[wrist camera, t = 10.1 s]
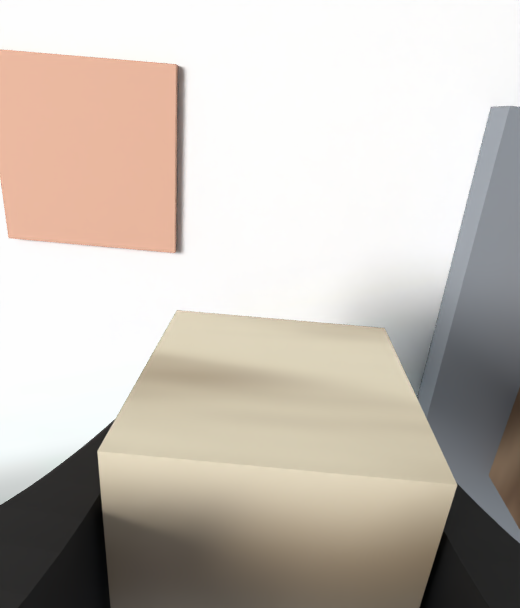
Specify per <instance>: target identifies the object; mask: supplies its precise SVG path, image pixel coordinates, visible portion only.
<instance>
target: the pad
mask: <svg viewBox="0 0 520 608" xmlns="http://www.w3.org/2000/svg"><path fill="white" fill-rule="evenodd" d="M177 78H178V65H176V64H167V63H155V62H143V61H131V60H119V59H107V58H95V57H83V56H71V55H59V54H47V53H35V52H24V51H12V50H0V179H1V186H2V194H3V201H4V208H5V215H6V223H7V230H8V237H9V238H14V239H25V240H36V241H47V242H59V243H70V244H81V245H92V246H103V247H114V248H126V249H137V250H148V251H159V252H170V253H175V252H176V212H177Z"/></svg>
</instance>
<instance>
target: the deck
mask: <svg viewBox="0 0 520 608" xmlns="http://www.w3.org/2000/svg"><path fill="white" fill-rule="evenodd" d="M519 388H520V107H516V106H499V107H491V109H490V113H489V117H488V121H487V125H486V129H485V133H484V137H483V140H482V144H481V148H480V152H479V156H478V160H477V164H476V168H475V172H474V176H473V180H472V184H471V188H470V192H469V196H468V200H467V204H466V208H465V212H464V216H463V220H462V224H461V228H460V232H459V236H458V240H457V243H456V247H455V251H454V255H453V259H452V263H451V267H450V271H449V275H448V279H447V283H446V287H445V291H444V295H443V299H442V303H441V307H440V311H439V315H438V319H437V323H436V327H435V331H434V335H433V339H432V343H431V346H430V350H429V354H428V358H427V362H426V366H425V370H424V374H423V378H422V382H421V386H420V390H419V394H418V398H417V399H418V401H419V403H420V406H421V408H422V410H423V412H424V414H425V416H426V419H427V421H428V423H429V425H430V427H431V429H432V431H433V434H434V436H435V438H436V440H437V442H438V444H439V446H440V449H441V451H442V453H443V455H444V457H445V459H446V462H447V464H448V466H449V468H450V470H451V472H452V474H453V477H454V479H455V481H456V482H457V483H458V484H459V486H460V487H461V488H462V489H463V490H464V491H465V492H466V493H467V494H468V495H469V496H470V497H471V498H472V499H473V500H474V501H475V502H476V503H477V504H478V505H479V506H480V507H481V508H482V509H483V510H484V511H485V512H486V513H487V514H488V515H489V516H491V517H492V518H493V519H494V520H495V521H496V522H497V523H498V524H499V525H500V526H501V527H502V528H503V529H504V530H505V531H506V532H508V533H509V534H510V535H511V536H512V537H513V538H514V539H515V540H517V541H518V542H519V543H520V529H519V528H518V526H517V524H516V522H515V521H514V519H513V517H512V515H511V514H510V512H509V510H508V508H507V507H506V505H505V503H504V501H503V500H502V498H501V496H500V494H499V493H498V491H497V489H496V487H495V486H494V484H493V482H492V480H491V479H490V477H489V473H490V470H491V467H492V464H493V462H494V459H495V456H496V453H497V450H498V447H499V444H500V442H501V439H502V436H503V433H504V430H505V427H506V425H507V422H508V419H509V416H510V413H511V410H512V408H513V405H514V402H515V399H516V396H517V393H518V390H519Z"/></svg>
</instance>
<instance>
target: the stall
mask: <svg viewBox="0 0 520 608" xmlns="http://www.w3.org/2000/svg"><path fill="white" fill-rule="evenodd" d="M489 477H490V479H491V480H492V482H493V484H494V486H495V487H496V489H497V491H498V493H499V494H500V496H501V498H502V500H503V501H504V503H505V505H506V507H507V508H508V510H509V512H510V514H511V515H512V517H513V519H514V521H515V522H516V524H517V526H518V528H519V529H520V388H519V390H518V393H517V396H516V399H515V402H514V405H513V408H512V410H511V413H510V416H509V419H508V422H507V425H506V427H505V430H504V433H503V436H502V439H501V442H500V444H499V447H498V450H497V453H496V456H495V459H494V462H493V464H492V467H491V470H490V473H489Z"/></svg>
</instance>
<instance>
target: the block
mask: <svg viewBox="0 0 520 608" xmlns="http://www.w3.org/2000/svg"><path fill="white" fill-rule="evenodd" d="M97 454H98V465H99V477H100V489H101V501H102V512H103V524H104V536H105V548H106V559H107V571H108V583H109V595H110V606H111V608H419V607H420V604H421V601H422V598H423V594H424V591H425V588H426V585H427V581H428V578H429V575H430V572H431V568H432V565H433V562H434V559H435V556H436V552H437V549H438V546H439V543H440V539H441V536H442V533H443V530H444V526H445V523H446V520H447V517H448V513H449V510H450V507H451V504H452V501H453V497H454V494H455V491H456V488H457V483H456V481H455V479H454V477H453V474H452V472H451V470H450V468H449V466H448V464H447V462H446V459H445V457H444V455H443V453H442V451H441V449H440V446H439V444H438V442H437V440H436V438H435V436H434V434H433V431H432V429H431V427H430V425H429V423H428V421H427V419H426V416H425V414H424V412H423V410H422V408H421V406H420V403H419V401H418V399H417V397H416V395H415V393H414V391H413V388H412V386H411V384H410V382H409V380H408V378H407V376H406V373H405V371H404V369H403V367H402V365H401V363H400V360H399V358H398V356H397V354H396V352H395V350H394V348H393V345H392V343H391V341H390V339H389V337H388V335H387V333H386V330H385V328H377V327H366V326H354V325H342V324H331V323H319V322H307V321H296V320H284V319H273V318H261V317H249V316H238V315H226V314H215V313H203V312H191V311H180V310H177V311H176V313H175V314H174V316H173V318H172V320H171V322H170V323H169V325H168V327H167V329H166V330H165V332H164V334H163V336H162V338H161V339H160V341H159V343H158V345H157V346H156V348H155V350H154V352H153V353H152V355H151V357H150V359H149V361H148V362H147V364H146V366H145V368H144V369H143V371H142V373H141V375H140V376H139V378H138V380H137V382H136V384H135V385H134V387H133V389H132V391H131V392H130V394H129V396H128V398H127V399H126V401H125V403H124V405H123V407H122V408H121V410H120V412H119V414H118V415H117V417H116V419H115V421H114V423H113V424H112V426H111V428H110V430H109V431H108V433H107V435H106V437H105V438H104V440H103V442H102V444H101V446H100V447H99V449H98V451H97Z"/></svg>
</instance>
